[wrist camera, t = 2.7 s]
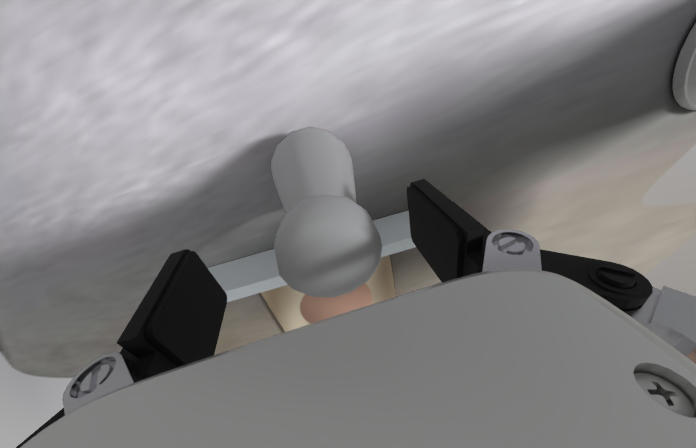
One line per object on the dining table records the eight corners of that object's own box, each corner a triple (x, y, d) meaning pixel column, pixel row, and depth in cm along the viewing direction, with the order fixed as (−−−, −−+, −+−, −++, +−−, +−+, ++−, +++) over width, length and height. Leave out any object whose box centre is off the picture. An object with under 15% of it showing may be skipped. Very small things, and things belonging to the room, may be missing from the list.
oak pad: (387, 245, 26) (389, 249, 26) (397, 313, 33) (399, 318, 32) (257, 283, 26) (256, 288, 25) (295, 344, 32) (295, 349, 32)
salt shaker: (328, 201, 22) (362, 329, 12) (263, 178, 20) (231, 310, 9) (358, 140, 20) (436, 230, 9) (288, 106, 18) (282, 173, 7)
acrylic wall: (421, 206, 24) (441, 228, 21) (422, 216, 25) (441, 239, 22) (201, 269, 24) (186, 303, 20) (207, 278, 24) (194, 312, 21)
